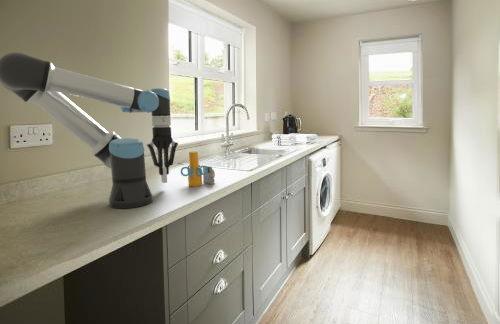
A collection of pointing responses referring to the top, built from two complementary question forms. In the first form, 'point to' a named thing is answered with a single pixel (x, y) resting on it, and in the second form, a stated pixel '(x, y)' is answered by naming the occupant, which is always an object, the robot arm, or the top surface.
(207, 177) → the grey stone
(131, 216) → the top surface
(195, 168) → the orange block with rings
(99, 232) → the top surface
